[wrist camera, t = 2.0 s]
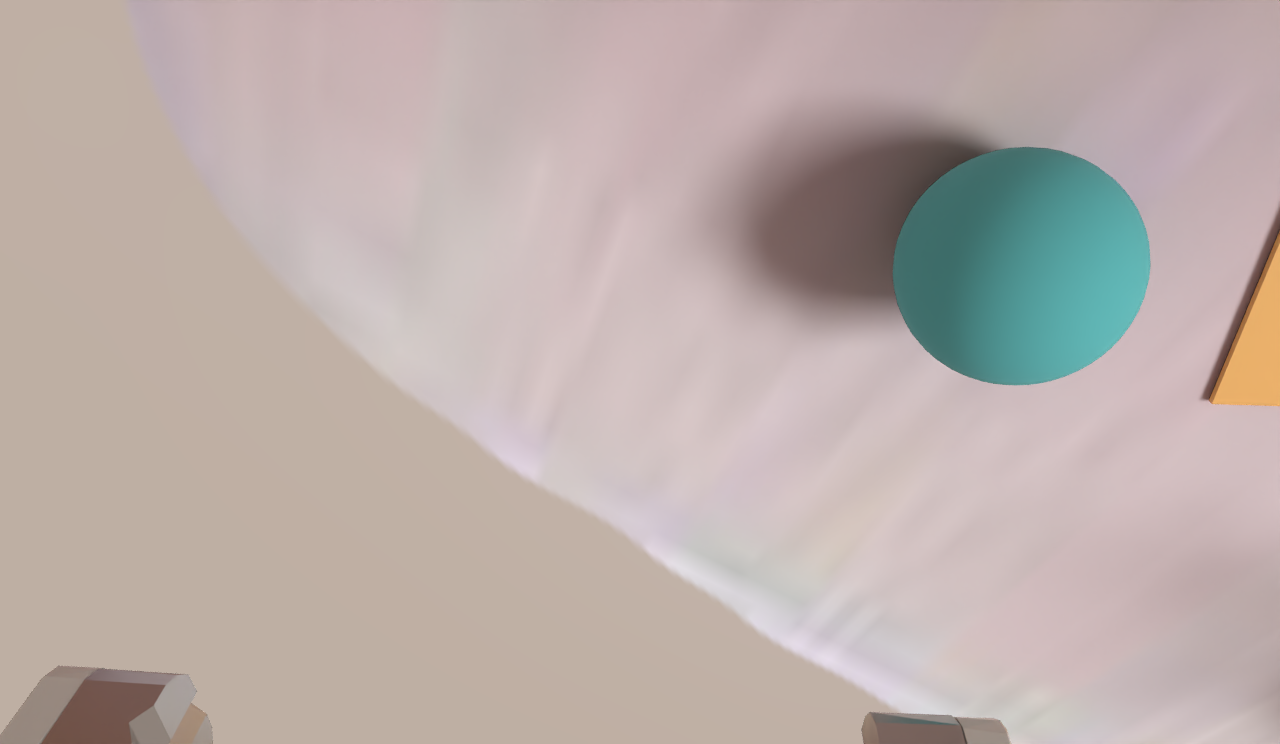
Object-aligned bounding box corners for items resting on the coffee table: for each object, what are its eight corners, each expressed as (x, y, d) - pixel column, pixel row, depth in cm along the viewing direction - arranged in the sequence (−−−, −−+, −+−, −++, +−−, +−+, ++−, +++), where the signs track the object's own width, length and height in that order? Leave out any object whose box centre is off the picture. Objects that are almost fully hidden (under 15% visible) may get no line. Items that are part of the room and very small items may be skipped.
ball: (1126, 115, 23) (1236, 206, 18) (1068, 313, 26) (1148, 436, 21) (892, 114, 23) (937, 202, 18) (865, 309, 27) (897, 429, 22)
